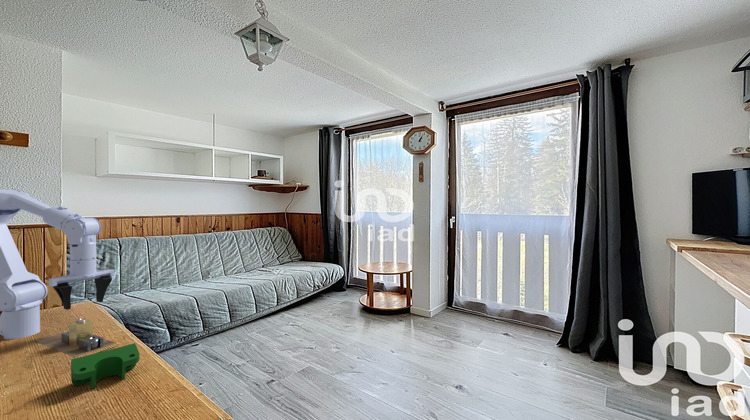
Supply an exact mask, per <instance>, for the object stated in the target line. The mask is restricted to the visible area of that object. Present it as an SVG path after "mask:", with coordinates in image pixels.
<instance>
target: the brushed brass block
mask: <svg viewBox="0 0 750 420" xmlns="http://www.w3.org/2000/svg"><path fill="white" fill-rule="evenodd" d="M93 329H94V328H93V320H90V319H87V318H83V319H82V318H76V319H75V321H74V320H73V321H70V322H68V331H69V345H71V346H73V347H76V348H77V347H78V339H81V338H82V339H83V338H85V337H88V336H91V335H94V334H93Z"/></svg>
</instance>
